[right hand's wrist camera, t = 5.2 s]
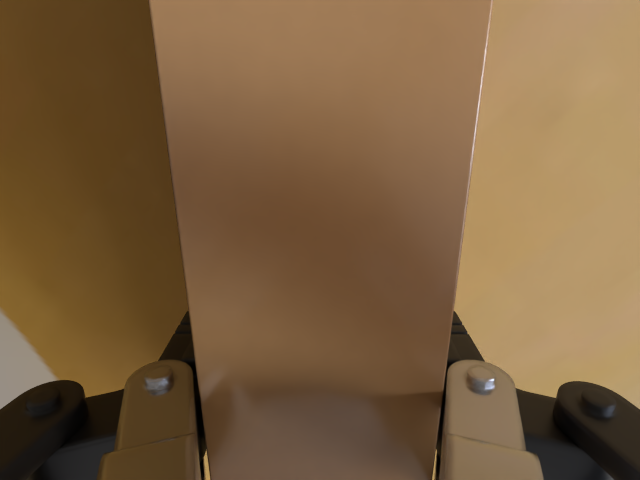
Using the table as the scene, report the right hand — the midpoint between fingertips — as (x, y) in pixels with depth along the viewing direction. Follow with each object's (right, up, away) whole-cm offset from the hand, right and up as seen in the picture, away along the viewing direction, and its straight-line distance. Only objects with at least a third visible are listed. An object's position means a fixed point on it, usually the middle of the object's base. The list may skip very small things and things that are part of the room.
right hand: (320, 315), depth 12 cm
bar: (0, +26, -7) cm, 27 cm away
